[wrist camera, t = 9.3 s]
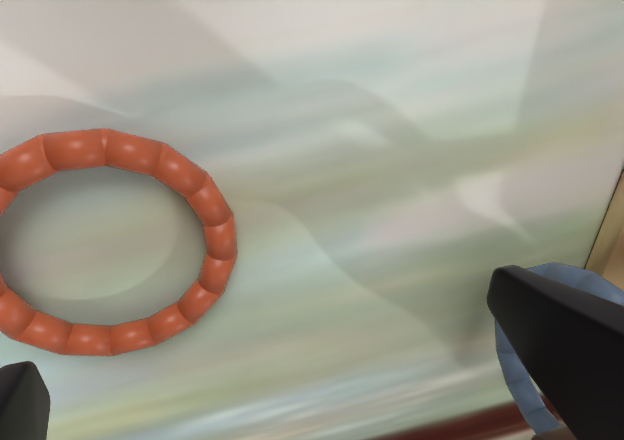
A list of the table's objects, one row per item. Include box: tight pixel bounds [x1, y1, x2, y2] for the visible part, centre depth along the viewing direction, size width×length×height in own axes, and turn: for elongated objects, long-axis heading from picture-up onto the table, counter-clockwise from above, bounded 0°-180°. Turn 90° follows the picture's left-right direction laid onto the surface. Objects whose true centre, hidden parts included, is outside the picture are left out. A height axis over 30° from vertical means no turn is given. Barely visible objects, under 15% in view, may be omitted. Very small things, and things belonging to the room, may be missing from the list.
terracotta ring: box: [0, 128, 237, 356], centre depth 15 cm, size 9×1×9 cm
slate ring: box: [495, 262, 624, 434], centre depth 18 cm, size 9×1×9 cm, turn 0°
